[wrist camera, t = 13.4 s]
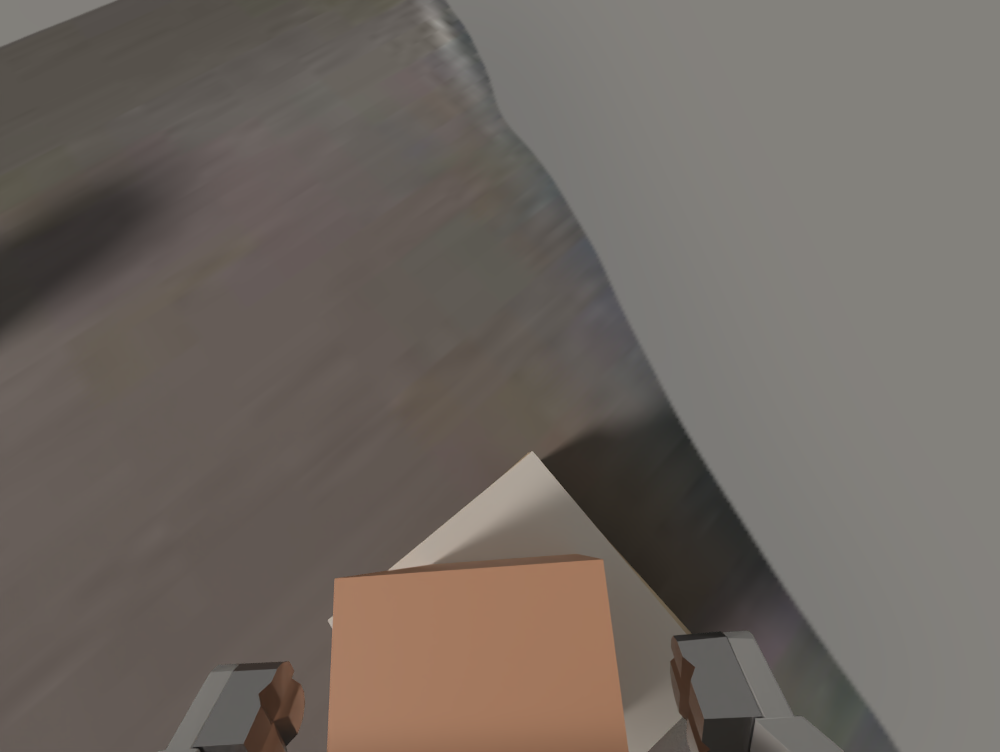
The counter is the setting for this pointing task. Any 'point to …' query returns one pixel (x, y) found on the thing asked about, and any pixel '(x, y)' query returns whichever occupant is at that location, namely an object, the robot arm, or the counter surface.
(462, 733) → the pillar
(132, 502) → the counter surface
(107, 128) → the counter surface
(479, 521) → the tower top
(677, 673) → the robot arm
